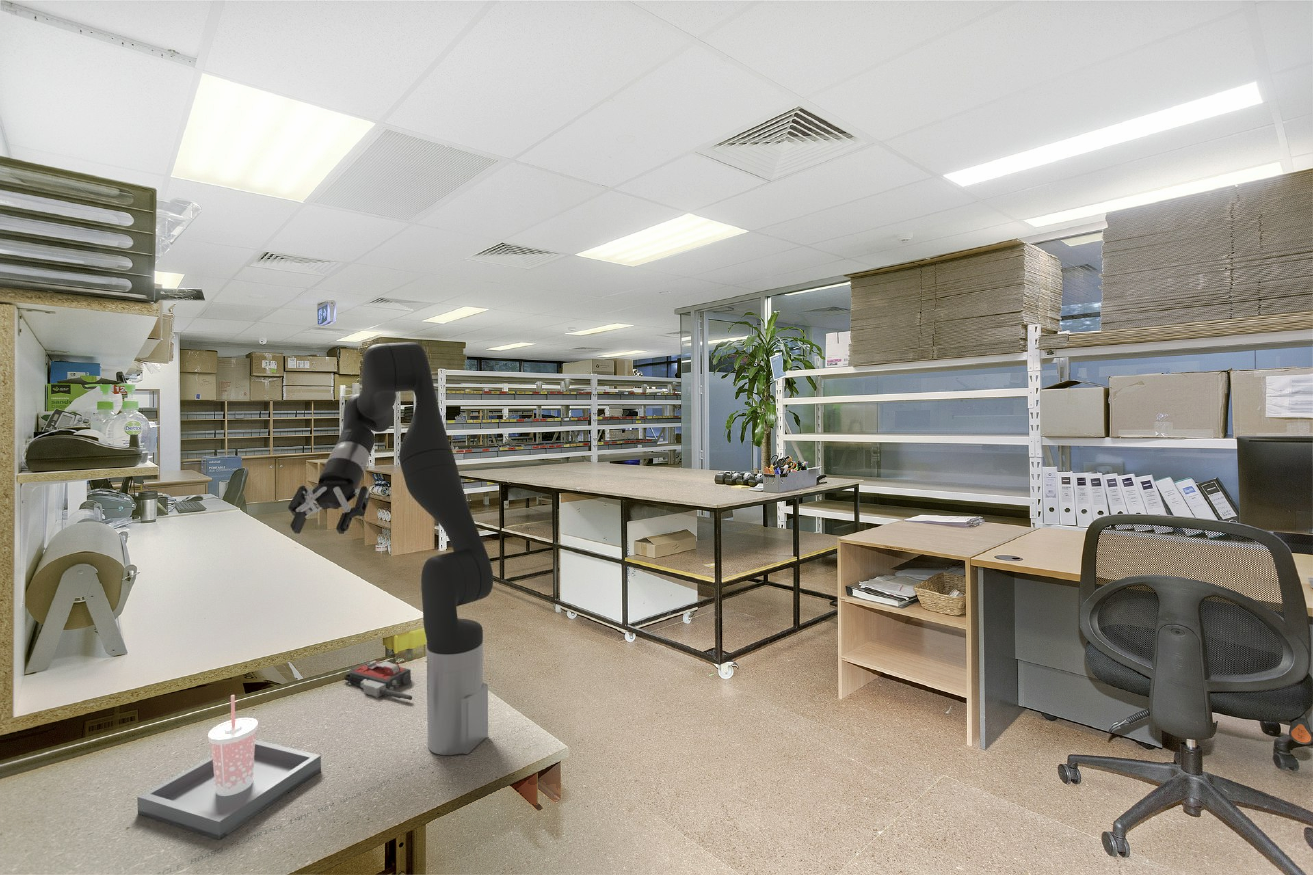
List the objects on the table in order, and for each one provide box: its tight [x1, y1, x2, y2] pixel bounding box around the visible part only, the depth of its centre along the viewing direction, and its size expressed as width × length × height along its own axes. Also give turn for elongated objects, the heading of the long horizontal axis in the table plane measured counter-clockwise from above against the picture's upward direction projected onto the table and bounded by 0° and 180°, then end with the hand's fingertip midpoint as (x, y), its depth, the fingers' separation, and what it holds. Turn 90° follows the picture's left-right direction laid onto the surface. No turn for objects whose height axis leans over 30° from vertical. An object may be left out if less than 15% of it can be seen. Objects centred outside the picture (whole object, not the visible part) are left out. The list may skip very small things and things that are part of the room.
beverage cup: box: [207, 694, 259, 796], centre depth 88 cm, size 6×6×14 cm
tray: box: [136, 739, 322, 841], centre depth 88 cm, size 16×16×2 cm
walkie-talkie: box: [343, 660, 413, 701], centre depth 122 cm, size 9×4×20 cm
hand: (317, 531), depth 115 cm, fingers open, 8 cm apart
